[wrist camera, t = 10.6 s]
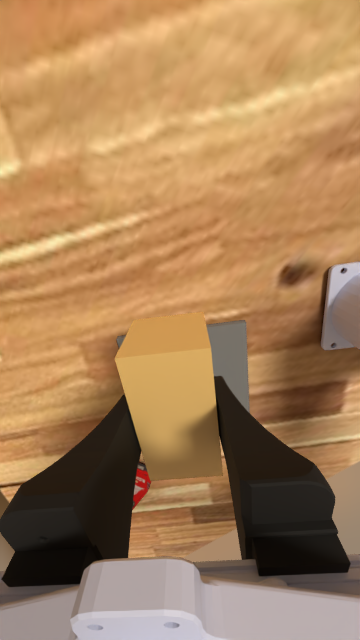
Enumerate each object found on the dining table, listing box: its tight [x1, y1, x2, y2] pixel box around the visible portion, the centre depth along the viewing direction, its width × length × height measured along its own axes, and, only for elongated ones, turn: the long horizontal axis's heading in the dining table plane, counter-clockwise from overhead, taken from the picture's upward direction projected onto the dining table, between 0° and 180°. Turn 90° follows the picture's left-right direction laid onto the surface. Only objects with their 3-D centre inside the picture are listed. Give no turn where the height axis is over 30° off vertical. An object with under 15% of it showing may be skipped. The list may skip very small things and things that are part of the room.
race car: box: [132, 463, 151, 510], centre depth 30 cm, size 13×5×4 cm, turn 145°
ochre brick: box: [115, 312, 223, 481], centre depth 13 cm, size 4×8×4 cm, turn 8°
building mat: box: [116, 320, 249, 412], centre depth 24 cm, size 12×12×1 cm
